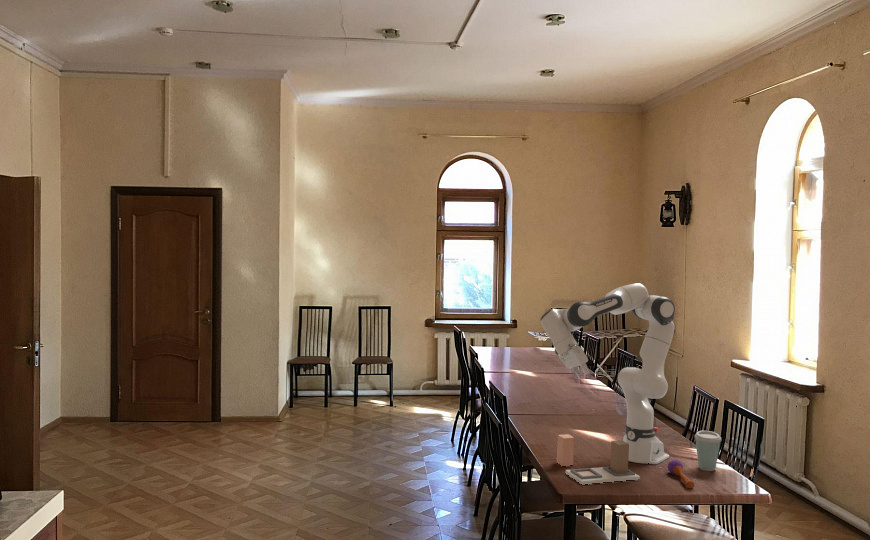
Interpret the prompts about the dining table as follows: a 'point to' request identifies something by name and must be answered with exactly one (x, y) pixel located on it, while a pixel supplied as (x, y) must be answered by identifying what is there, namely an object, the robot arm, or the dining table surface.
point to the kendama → (679, 472)
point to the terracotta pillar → (565, 450)
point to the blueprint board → (607, 468)
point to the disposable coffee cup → (707, 449)
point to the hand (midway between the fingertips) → (584, 375)
